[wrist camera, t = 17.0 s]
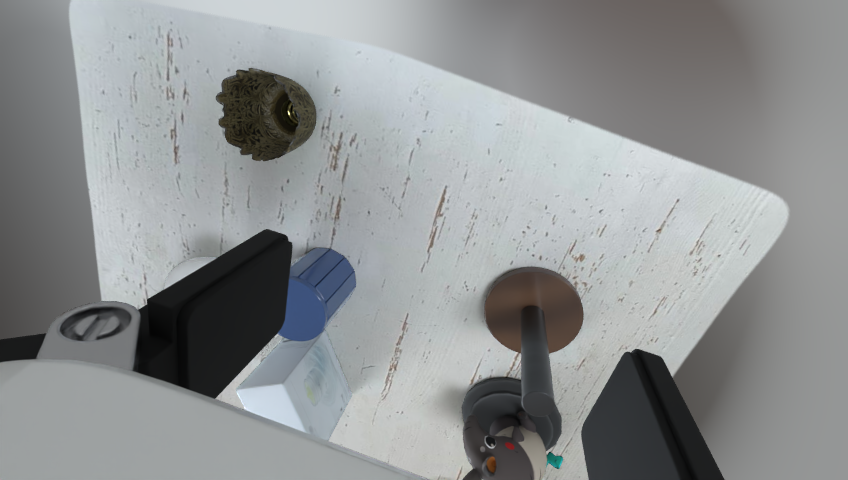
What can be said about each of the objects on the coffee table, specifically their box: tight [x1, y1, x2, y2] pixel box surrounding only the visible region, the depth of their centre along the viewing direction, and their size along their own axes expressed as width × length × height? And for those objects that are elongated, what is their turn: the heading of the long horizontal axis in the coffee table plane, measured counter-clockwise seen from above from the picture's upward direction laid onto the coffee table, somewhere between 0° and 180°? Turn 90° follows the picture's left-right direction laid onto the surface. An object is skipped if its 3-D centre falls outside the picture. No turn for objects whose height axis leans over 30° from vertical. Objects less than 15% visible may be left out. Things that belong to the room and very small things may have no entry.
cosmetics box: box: [236, 330, 352, 441], centre depth 47 cm, size 10×6×10 cm, turn 17°
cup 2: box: [277, 248, 356, 342], centre depth 43 cm, size 7×7×8 cm
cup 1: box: [216, 68, 316, 161], centre depth 37 cm, size 7×7×8 cm
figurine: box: [462, 378, 563, 480], centre depth 43 cm, size 11×12×12 cm
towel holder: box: [484, 267, 583, 417], centre depth 36 cm, size 10×10×14 cm
